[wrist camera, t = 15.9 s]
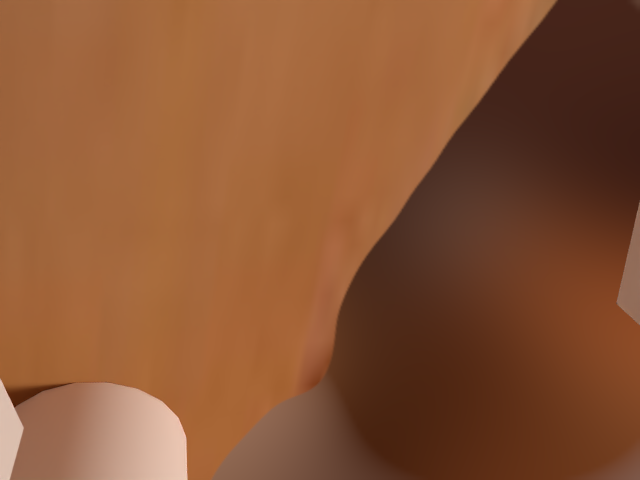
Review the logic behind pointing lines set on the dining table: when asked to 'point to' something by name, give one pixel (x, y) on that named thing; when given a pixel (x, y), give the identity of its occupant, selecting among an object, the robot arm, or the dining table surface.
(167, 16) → the dining table surface
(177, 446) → the canister
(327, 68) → the dining table surface
